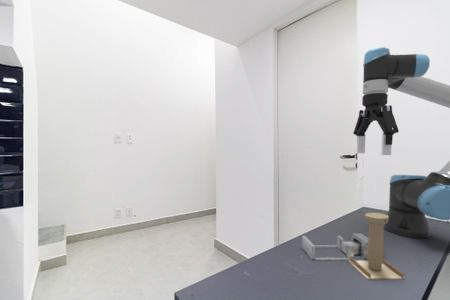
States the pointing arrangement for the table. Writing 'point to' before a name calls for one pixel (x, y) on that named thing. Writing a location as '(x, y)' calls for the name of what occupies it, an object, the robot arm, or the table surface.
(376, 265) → the handle
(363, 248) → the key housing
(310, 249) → the silver rectangular frame
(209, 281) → the table surface
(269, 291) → the table surface
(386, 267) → the tan base plate
